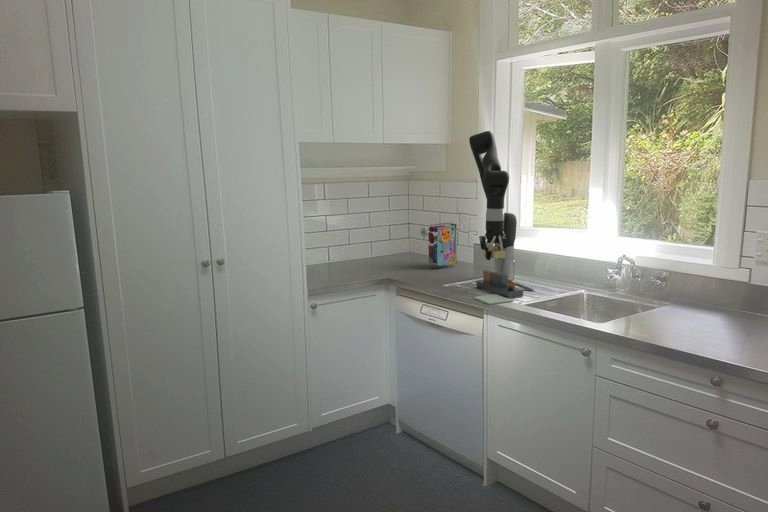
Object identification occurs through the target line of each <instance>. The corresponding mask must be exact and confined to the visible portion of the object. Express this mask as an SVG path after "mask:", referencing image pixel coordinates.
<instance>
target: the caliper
mask: <svg viewBox="0 0 768 512" xmlns="http://www.w3.org/2000/svg"><path fill="white" fill-rule="evenodd" d="M508 280H511V279H509V278H508ZM507 285H508V281H507ZM515 287H517V288H519V289H522V290H526V291H529V292H536V290H535V289H534V288H533V287H531V286H528V285H525V284H522V283H521V282H517V281H515Z"/></svg>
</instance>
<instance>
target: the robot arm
mask: <svg viewBox="0 0 768 512" xmlns="http://www.w3.org/2000/svg"><path fill="white" fill-rule="evenodd" d="M494 136H495V135H494V134H493V133H492V131H490V130H486V131H483V132H479V133H476V134H474V135H471V136H469V138H468V139H469V146H470V149H471V153H472V155H473V158H474V161H475V163H476V167H477V170H478V173H479V178H480V181H481V184H482V188H483V192H484V195H485V198H486V211H485V233H484V234H483V235H479V237H478V239H479V243H480V249H481V250H482V251H483V250H485V259H486V260H487V261H491V259H492V258H491V252H490V250H491V247H492V246H495V248H497V249H501V250H505V258H497V259H495V258H494V259H493V260H494V262H493V263H494V265H493V266H494V267H493V268H494V269H493V272H495V273H500V274H503V275H506V276H508V278H509V279H511V280H515V281H516V279H515V278H516V277H515V276H516V261H515V259H514V255H515V253H514V252H515V241H516V234H517V226H518V225H517V217H516V214H514V213H513V212H512V213H511V212H505V197H506V192H507V190H508V189H507V188H508V186H509V182H510V174H509V172H508V171H506V170H502V166H501V164H500V161H499V156H498V149H497V148H498V147H497V145H496V139H495V137H494ZM483 154H484V156H483V157H482V155H483Z"/></svg>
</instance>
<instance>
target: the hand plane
mask: <svg viewBox="0 0 768 512" xmlns="http://www.w3.org/2000/svg"><path fill="white" fill-rule="evenodd" d="M482 273H483V274H482V280H477V281H476V288H477V289H481V290H483V291H486V292H489V293H491V294H497V295H500V296H503V297H506V298H508V299H515V298H523V297H524V289H523V288H520V287H517V286H515V282H516V279H515V280H508V276H506V275H503V274H500V273H495V272H494V270H493V271H492V270H490V269H489V270H488V269H485V270H484V269H483V271H482ZM507 281H508V284H507Z"/></svg>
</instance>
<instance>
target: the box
mask: <svg viewBox="0 0 768 512" xmlns="http://www.w3.org/2000/svg"><path fill="white" fill-rule="evenodd" d="M457 231H458V228H457V223H456V222H455V223H454V222H443V223H442V222H441V223H436V224H435V223H434V224H433V223H432V224H429V226H428V233H427V229H426V228H425V227H421V228H420V235H421V237H423V238H425V237H426V236H428V246H427V247H428V265H429V266H433V267H429V269H431V270H432V269H434V270H438V267H439V268H441V267H442V269H445V268H448V269H451V268H452V267H455V266H456V265H457V262H454V261H455V260H458V256H457V241H458V237H457ZM434 233H436V235H435V234H434ZM454 263H455V264H456V265H455V264H454ZM453 264H454V265H453ZM434 267H436V268H434ZM443 267H444V268H443Z"/></svg>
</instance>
